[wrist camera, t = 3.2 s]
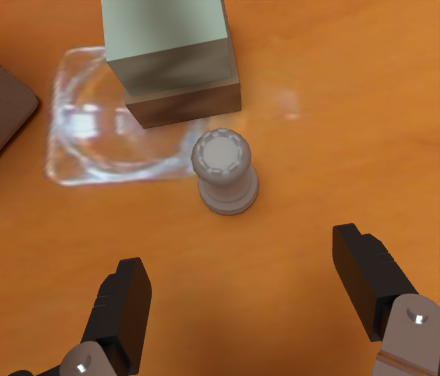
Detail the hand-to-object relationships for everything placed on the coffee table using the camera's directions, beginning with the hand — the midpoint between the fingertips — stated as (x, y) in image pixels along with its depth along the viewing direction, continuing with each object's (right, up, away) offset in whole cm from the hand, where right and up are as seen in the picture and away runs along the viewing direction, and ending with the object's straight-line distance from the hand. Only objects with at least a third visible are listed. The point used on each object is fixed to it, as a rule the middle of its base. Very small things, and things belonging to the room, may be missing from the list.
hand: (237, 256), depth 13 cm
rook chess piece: (0, +3, +11) cm, 11 cm away
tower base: (-4, +12, +13) cm, 18 cm away
